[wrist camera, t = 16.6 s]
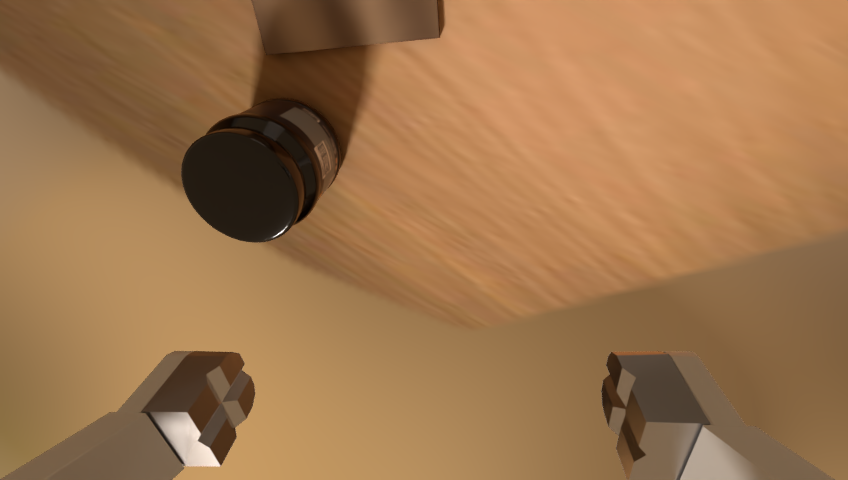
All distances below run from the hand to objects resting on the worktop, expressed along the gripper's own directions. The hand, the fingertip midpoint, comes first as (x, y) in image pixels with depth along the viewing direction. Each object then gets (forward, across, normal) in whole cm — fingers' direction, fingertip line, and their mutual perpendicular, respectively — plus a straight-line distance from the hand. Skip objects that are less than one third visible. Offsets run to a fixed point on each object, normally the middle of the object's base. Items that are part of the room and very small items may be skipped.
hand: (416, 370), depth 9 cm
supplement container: (+33, +17, +4) cm, 38 cm away
